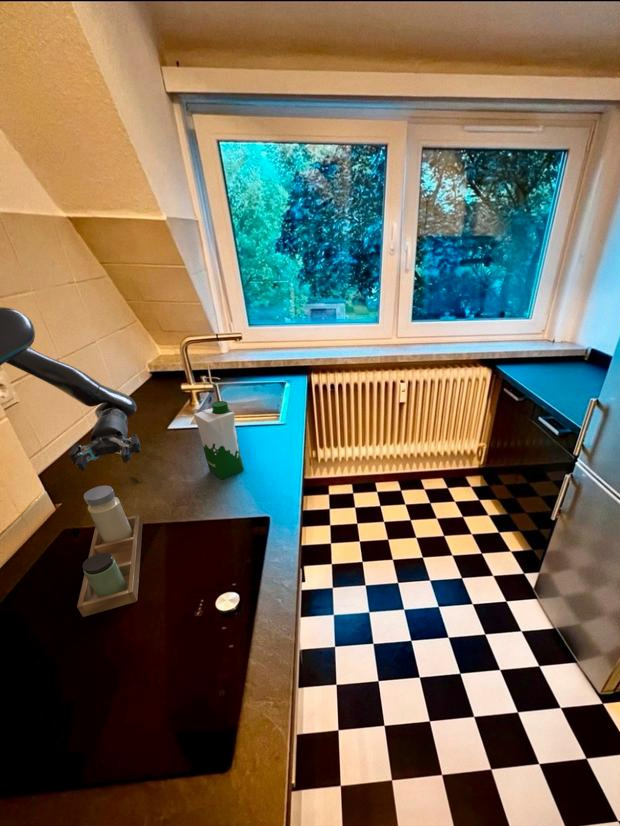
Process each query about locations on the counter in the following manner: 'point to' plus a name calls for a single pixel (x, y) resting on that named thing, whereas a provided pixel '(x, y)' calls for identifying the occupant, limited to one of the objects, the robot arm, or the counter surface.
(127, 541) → the jar stand
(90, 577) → the spice jar
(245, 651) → the counter surface
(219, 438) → the milk carton
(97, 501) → the jar
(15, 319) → the robot arm
